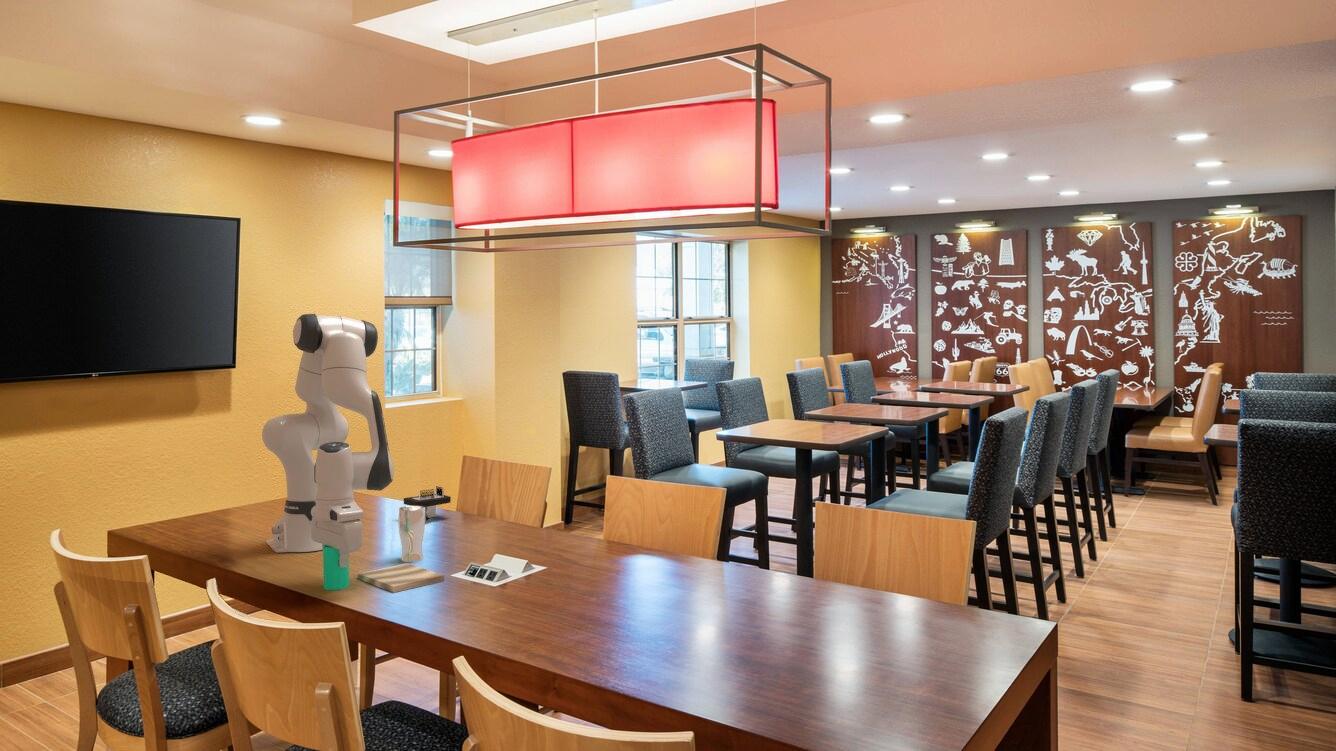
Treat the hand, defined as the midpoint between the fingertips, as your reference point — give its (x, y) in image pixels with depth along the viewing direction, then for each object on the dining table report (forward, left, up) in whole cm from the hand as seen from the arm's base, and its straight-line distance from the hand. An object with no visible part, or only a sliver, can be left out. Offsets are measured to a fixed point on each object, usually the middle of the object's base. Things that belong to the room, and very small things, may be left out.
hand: (336, 564), depth 215 cm
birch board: (+6, +14, -6) cm, 16 cm away
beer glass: (-9, +26, -6) cm, 28 cm away
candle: (0, 0, -6) cm, 6 cm away
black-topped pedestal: (-46, +54, -6) cm, 71 cm away
